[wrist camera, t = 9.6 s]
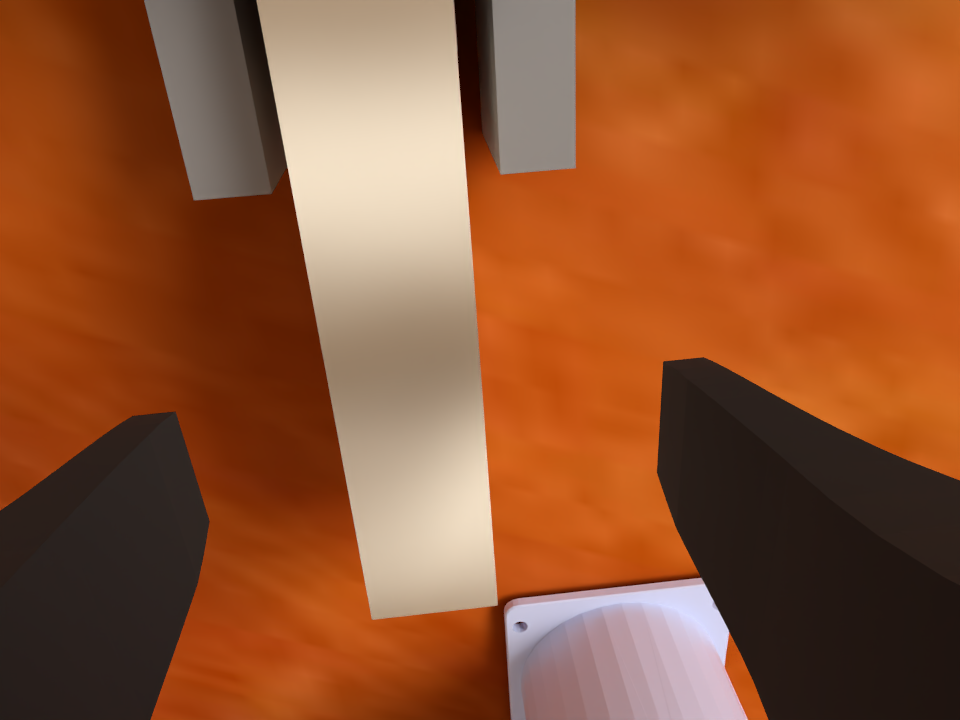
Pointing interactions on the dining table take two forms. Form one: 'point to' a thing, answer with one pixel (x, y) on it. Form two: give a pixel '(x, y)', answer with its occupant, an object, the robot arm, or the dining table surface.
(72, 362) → the dining table surface
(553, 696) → the robot arm
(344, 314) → the birch rail
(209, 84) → the grey stepped block
